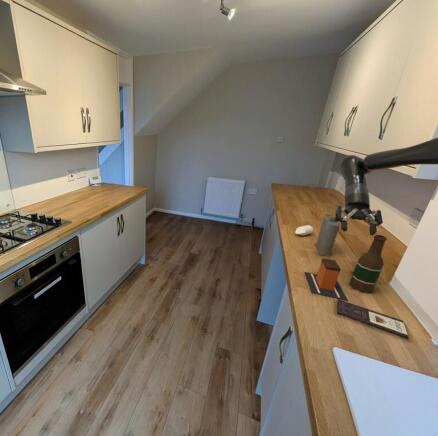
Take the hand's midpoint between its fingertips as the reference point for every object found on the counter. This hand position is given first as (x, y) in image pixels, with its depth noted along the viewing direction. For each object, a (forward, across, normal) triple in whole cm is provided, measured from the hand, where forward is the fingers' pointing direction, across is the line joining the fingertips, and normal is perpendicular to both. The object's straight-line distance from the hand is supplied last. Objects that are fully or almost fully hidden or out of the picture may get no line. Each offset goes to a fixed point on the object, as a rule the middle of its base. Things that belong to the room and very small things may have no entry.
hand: (358, 232), depth 92 cm
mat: (+19, -6, +17) cm, 26 cm away
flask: (-8, +2, +44) cm, 45 cm away
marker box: (+18, -6, +17) cm, 26 cm away
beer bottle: (+16, +8, +20) cm, 27 cm away
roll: (-26, -6, +53) cm, 59 cm away
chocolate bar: (+31, +4, +6) cm, 31 cm away
